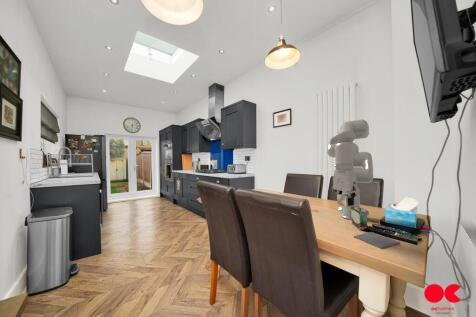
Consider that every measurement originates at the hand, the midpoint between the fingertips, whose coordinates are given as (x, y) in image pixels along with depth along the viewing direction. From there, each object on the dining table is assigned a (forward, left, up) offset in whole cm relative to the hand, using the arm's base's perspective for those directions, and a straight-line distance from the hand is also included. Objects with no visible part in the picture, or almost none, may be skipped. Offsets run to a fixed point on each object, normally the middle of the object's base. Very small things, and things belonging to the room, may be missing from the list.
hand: (345, 203), depth 88 cm
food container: (-4, +16, -16) cm, 22 cm away
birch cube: (0, 0, -1) cm, 1 cm away
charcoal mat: (+9, +7, -15) cm, 19 cm away
